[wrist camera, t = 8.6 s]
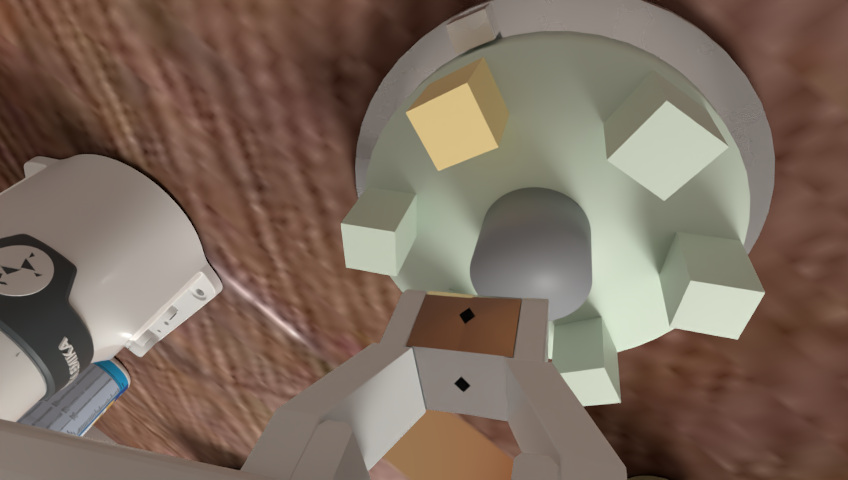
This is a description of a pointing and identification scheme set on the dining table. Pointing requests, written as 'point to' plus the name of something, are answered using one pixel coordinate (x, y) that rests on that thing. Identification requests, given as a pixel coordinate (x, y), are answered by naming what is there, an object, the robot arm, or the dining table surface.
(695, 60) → the mount plate
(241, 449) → the dining table surface
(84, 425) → the blue wipes canister
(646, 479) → the squeeze bottle
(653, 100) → the green toy gear
